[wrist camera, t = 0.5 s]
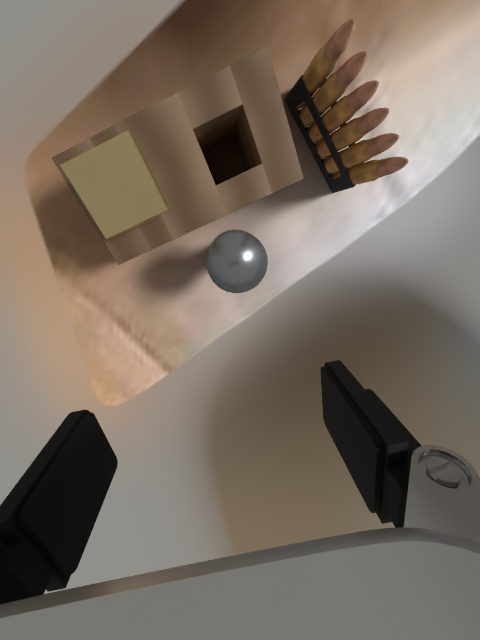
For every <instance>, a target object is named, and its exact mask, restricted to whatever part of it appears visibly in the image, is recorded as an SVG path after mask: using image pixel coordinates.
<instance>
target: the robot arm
mask: <svg viewBox="0 0 480 640" xmlns="http://www.w3.org/2000/svg"><path fill="white" fill-rule="evenodd" d="M321 384H322V403H323V418H324V422H325V425H326V427H327V429H328V431H329V433H330V435H331V437H332V439H333V441H334V443H335V445H336V447H337V449H338V451H339V453H340V455H341V456H342V458H343V460H344V462H345V464H346V466H347V468H348V470H349V472H350V474H351V476H352V478H353V480H354V482H355V484H356V486H357V488H358V489H359V491H360V493H361V495H362V497H363V499H364V501H365V503H366V505H367V507H368V508H369V510H370V511H371V513H375V512H376V513H377V515H378V517H379V519H380V520H381V523H382V524H383V523H388V522H393V524H394V526H395V528H386V529H377V530H368V531H360V532H354V533H349V534H343V535H337V536H332V537H326V538H321V539H315V540H309V541H304V542H299V543H294V544H289V545H284V546H279V547H274V548H268V549H264V550H258V551H253V552H249V553H243V554H238V555H233V556H228V557H223V558H218V559H213V560H208V561H203V562H198V563H193V564H188V565H183V566H178V567H173V568H169V569H164V570H159V571H154V572H149V573H144V574H139V575H134V576H130V577H125V578H120V579H115V580H111V581H105V582H101V583H96V584H91V585H86V586H82V587H77V588H72V589H67V590H62V591H58V592H53V593H48V594H44V592H45V589H46V590H47V591H53V590H58V589H63V588H66V586H67V583H68V581H69V578H70V576H71V574H72V573H73V572H75V570H76V569H77V567H78V564H79V562H80V559H81V557H82V554H83V552H84V549H85V547H86V544H87V542H88V539H89V536H90V534H91V532H92V529H93V527H94V524H95V521H96V519H97V516H98V514H99V511H100V509H101V506H102V504H103V501H104V499H105V496H106V494H107V491H108V489H109V486H110V484H111V481H112V479H113V476H114V473H115V471H116V468H117V458H116V456H115V454H114V452H113V450H112V448H111V446H110V444H109V442H108V440H107V438H106V436H105V434H104V433H103V431H102V429H101V427H100V425H99V423H98V421H97V419H96V417H95V415H94V414H93V413H91V412H89V411H88V410H81V411H76V412H72V413H70V414H69V415H68V416H67V417H66V418H65V420H64V421H63V422H62V424H61V425H60V426H59V428H58V429H57V431H56V432H55V433H54V434H53V436H52V437H51V438H50V440H49V441H48V443H47V444H46V445H45V447H44V448H43V449H42V451H41V452H40V453H39V455H38V456H37V457H36V459H35V460H34V461H33V463H32V464H31V465H30V467H29V468H28V469H27V471H26V472H25V473H24V475H23V476H22V477H21V479H20V480H19V481H18V483H17V484H16V485H15V487H14V488H13V489H12V491H11V492H10V493H9V495H8V496H7V497H6V499H5V500H4V501H3V503H2V504H1V506H0V640H480V478H479V475H478V472H477V471H476V470H475V468H474V467H473V466H472V464H471V463H469V462H468V461H467V460H466V459H465V458H464V457H462V456H461V455H459V454H457V453H456V452H454V451H452V450H449V449H447V448H444V447H441V446H436V445H424V446H421V445H420V444H419V443H418V441H417V440H416V439H415V438H414V437H413V436H412V435H411V433H410V432H409V431H408V430H407V429H406V428H405V427H404V425H403V424H402V423H401V422H400V421H399V420H398V419H397V418H396V416H395V415H394V414H393V413H392V412H391V411H390V410H389V409H388V407H387V406H386V405H385V404H384V403H383V402H382V401H381V400H380V398H379V397H378V396H377V395H376V394H375V393H374V392H373V391H372V390H370V389H364V388H363V387H362V386H361V384H360V383H359V382H358V381H357V380H356V378H355V377H354V376H353V375H352V374H351V373H350V371H349V370H348V369H347V368H346V367H345V366H344V364H343V363H342V362H341V361H339V360H338V361H332V362H327V363H325V366H324V367H321ZM43 594H44V595H43Z"/></svg>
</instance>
